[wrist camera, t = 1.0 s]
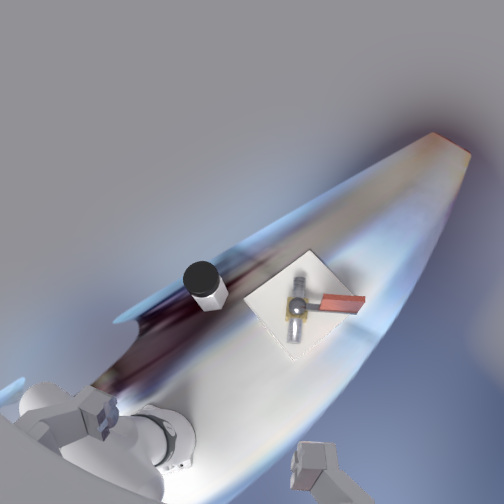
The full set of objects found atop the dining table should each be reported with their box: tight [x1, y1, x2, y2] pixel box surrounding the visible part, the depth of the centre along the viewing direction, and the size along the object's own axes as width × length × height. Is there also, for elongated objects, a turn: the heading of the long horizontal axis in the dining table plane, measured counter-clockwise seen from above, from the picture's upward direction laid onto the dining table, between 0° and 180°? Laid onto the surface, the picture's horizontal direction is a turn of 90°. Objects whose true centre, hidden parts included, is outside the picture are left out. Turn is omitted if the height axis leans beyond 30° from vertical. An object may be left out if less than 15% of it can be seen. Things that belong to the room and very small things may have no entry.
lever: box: [289, 294, 365, 315], centre depth 61 cm, size 16×4×8 cm, turn 82°
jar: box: [183, 261, 229, 311], centre depth 69 cm, size 9×8×12 cm
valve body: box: [285, 277, 309, 344], centre depth 67 cm, size 16×5×4 cm, turn 172°
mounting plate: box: [244, 250, 354, 361], centre depth 70 cm, size 22×20×1 cm
